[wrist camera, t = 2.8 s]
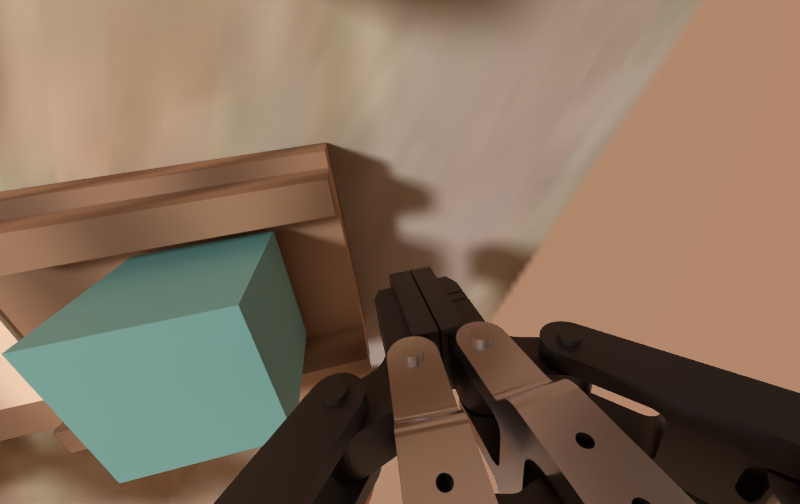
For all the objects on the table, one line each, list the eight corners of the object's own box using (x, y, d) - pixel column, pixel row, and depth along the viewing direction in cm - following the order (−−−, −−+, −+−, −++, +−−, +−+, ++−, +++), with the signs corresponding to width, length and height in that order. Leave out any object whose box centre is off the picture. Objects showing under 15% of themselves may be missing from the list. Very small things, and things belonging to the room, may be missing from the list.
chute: (326, 142, 14) (322, 161, 9) (364, 318, 19) (375, 394, 14) (-206, 223, 12) (-585, 305, 7) (-18, 403, 16) (-170, 531, 11)
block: (273, 230, 12) (238, 304, 7) (306, 333, 14) (294, 438, 10) (131, 256, 11) (1, 354, 7) (189, 359, 14) (119, 483, 9)
